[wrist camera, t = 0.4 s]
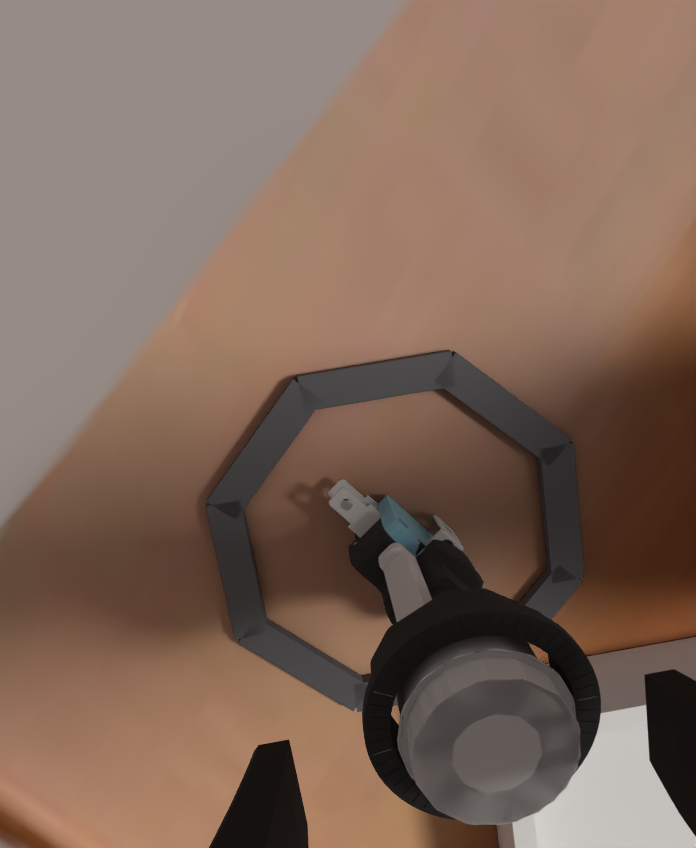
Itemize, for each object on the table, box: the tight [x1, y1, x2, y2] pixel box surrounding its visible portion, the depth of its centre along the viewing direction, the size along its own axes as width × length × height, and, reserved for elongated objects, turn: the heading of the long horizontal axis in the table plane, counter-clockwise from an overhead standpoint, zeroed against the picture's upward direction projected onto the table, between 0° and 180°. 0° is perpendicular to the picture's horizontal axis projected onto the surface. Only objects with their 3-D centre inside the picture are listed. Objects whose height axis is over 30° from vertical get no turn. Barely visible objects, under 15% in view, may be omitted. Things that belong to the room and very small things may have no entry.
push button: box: [328, 479, 601, 825], centre depth 17 cm, size 7×5×10 cm
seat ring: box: [205, 350, 584, 712], centre depth 22 cm, size 13×13×1 cm
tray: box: [496, 637, 696, 848], centre depth 24 cm, size 14×14×3 cm
